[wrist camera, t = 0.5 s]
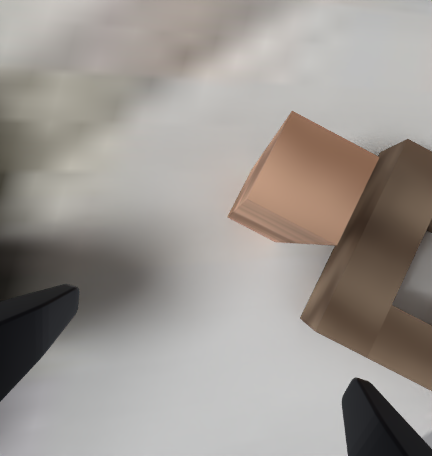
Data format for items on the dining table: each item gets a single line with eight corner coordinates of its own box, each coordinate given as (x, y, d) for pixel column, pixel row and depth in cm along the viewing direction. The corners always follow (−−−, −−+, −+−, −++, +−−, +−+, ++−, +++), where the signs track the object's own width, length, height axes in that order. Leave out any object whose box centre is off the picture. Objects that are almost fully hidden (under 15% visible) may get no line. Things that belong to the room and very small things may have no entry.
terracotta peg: (275, 242, 22) (337, 245, 12) (227, 217, 21) (247, 198, 11) (299, 194, 22) (379, 157, 12) (251, 169, 22) (292, 110, 12)
